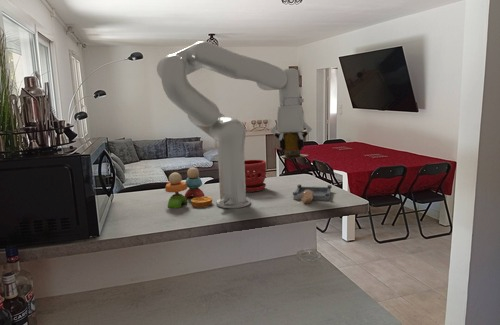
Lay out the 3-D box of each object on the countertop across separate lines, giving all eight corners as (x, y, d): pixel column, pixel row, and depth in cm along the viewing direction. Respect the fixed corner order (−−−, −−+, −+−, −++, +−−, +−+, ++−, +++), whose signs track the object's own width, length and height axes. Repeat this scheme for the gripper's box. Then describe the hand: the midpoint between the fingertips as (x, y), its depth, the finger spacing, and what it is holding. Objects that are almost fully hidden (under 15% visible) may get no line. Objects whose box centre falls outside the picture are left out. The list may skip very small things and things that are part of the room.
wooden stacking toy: (207, 209, 136) (205, 175, 134) (163, 208, 140) (160, 174, 138) (222, 196, 154) (220, 165, 152) (181, 195, 158) (179, 165, 155)
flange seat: (328, 204, 136) (328, 193, 135) (290, 203, 140) (290, 192, 139) (331, 191, 153) (331, 181, 153) (297, 190, 157) (297, 181, 156)
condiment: (292, 153, 153) (290, 123, 151) (308, 155, 147) (307, 124, 145) (279, 157, 149) (277, 126, 146) (296, 159, 143) (294, 127, 140)
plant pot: (268, 185, 168) (267, 158, 166) (265, 193, 155) (264, 164, 153) (238, 185, 170) (237, 158, 167) (233, 193, 157) (231, 164, 155)
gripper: (313, 100, 145) (315, 147, 149) (268, 103, 150) (271, 148, 153) (312, 101, 138) (314, 150, 142) (265, 104, 142) (268, 152, 146)
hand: (292, 149), depth 147 cm, fingers closed on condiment, 6 cm apart
